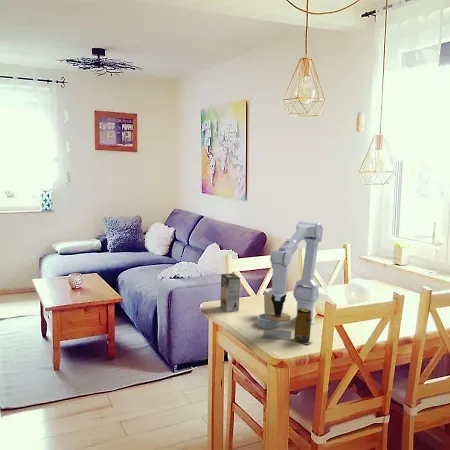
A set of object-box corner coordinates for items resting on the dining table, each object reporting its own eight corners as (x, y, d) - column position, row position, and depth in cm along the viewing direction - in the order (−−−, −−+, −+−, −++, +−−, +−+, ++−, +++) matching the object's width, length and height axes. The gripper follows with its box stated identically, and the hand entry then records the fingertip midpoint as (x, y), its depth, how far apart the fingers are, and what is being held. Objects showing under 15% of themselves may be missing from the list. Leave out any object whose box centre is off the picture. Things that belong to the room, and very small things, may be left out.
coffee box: (219, 306, 229) (220, 273, 227) (232, 305, 231) (233, 273, 229) (226, 312, 221) (227, 278, 219) (239, 311, 223) (240, 277, 221)
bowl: (258, 321, 209) (258, 312, 209) (280, 323, 208) (280, 314, 207) (255, 328, 200) (256, 319, 200) (278, 330, 198) (279, 321, 198)
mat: (264, 329, 199) (264, 328, 199) (291, 332, 197) (291, 331, 197) (262, 339, 188) (262, 338, 188) (290, 341, 186) (290, 340, 186)
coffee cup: (282, 320, 211) (283, 294, 210) (261, 318, 213) (262, 292, 211) (284, 314, 220) (285, 288, 219) (264, 312, 222) (265, 287, 220)
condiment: (299, 336, 193) (302, 306, 192) (317, 341, 187) (320, 311, 186) (289, 339, 187) (291, 309, 186) (307, 345, 182) (310, 314, 181)
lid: (266, 313, 197) (266, 301, 197) (290, 315, 196) (291, 303, 195) (264, 320, 188) (264, 308, 187) (289, 322, 186) (290, 310, 185)
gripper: (270, 275, 198) (269, 307, 199) (267, 284, 183) (266, 318, 185) (288, 276, 196) (286, 308, 198) (286, 285, 182) (284, 319, 184)
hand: (278, 313), depth 192 cm, fingers closed on lid, 3 cm apart
